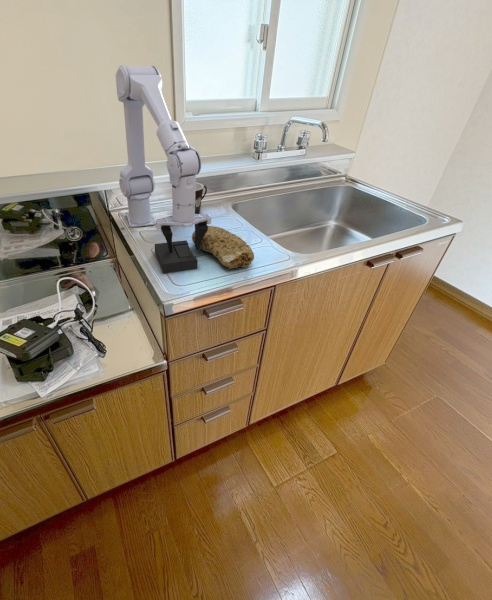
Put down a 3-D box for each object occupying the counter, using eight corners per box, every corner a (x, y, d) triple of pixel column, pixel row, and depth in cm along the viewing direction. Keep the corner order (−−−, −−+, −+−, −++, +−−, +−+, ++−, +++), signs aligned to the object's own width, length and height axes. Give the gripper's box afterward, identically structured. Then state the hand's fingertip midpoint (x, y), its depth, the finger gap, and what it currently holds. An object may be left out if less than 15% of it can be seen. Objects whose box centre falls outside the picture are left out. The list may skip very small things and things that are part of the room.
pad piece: (174, 254, 92) (173, 245, 90) (187, 253, 93) (187, 244, 91) (179, 266, 87) (179, 257, 86) (193, 264, 88) (193, 255, 87)
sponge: (256, 269, 90) (226, 226, 101) (259, 250, 84) (226, 206, 95) (214, 285, 88) (188, 239, 98) (213, 266, 81) (185, 219, 92)
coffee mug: (182, 220, 110) (182, 191, 104) (175, 210, 116) (175, 182, 110) (213, 216, 114) (215, 188, 107) (205, 207, 120) (206, 180, 113)
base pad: (155, 252, 92) (154, 243, 90) (186, 249, 95) (186, 240, 93) (163, 273, 84) (162, 264, 82) (197, 268, 87) (197, 259, 85)
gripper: (158, 210, 75) (161, 259, 83) (216, 205, 79) (213, 253, 87) (152, 199, 80) (155, 246, 88) (207, 195, 84) (205, 240, 92)
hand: (183, 249), depth 88 cm, fingers open, 7 cm apart
